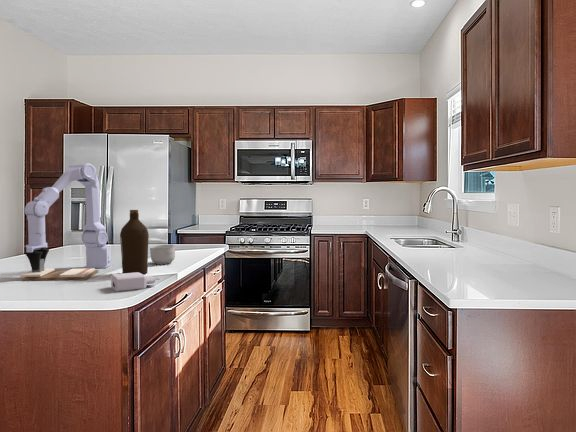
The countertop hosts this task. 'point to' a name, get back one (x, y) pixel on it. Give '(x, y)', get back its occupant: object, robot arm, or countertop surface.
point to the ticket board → (55, 276)
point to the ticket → (77, 272)
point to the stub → (38, 271)
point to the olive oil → (134, 245)
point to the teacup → (162, 254)
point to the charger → (131, 281)
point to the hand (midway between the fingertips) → (37, 269)
